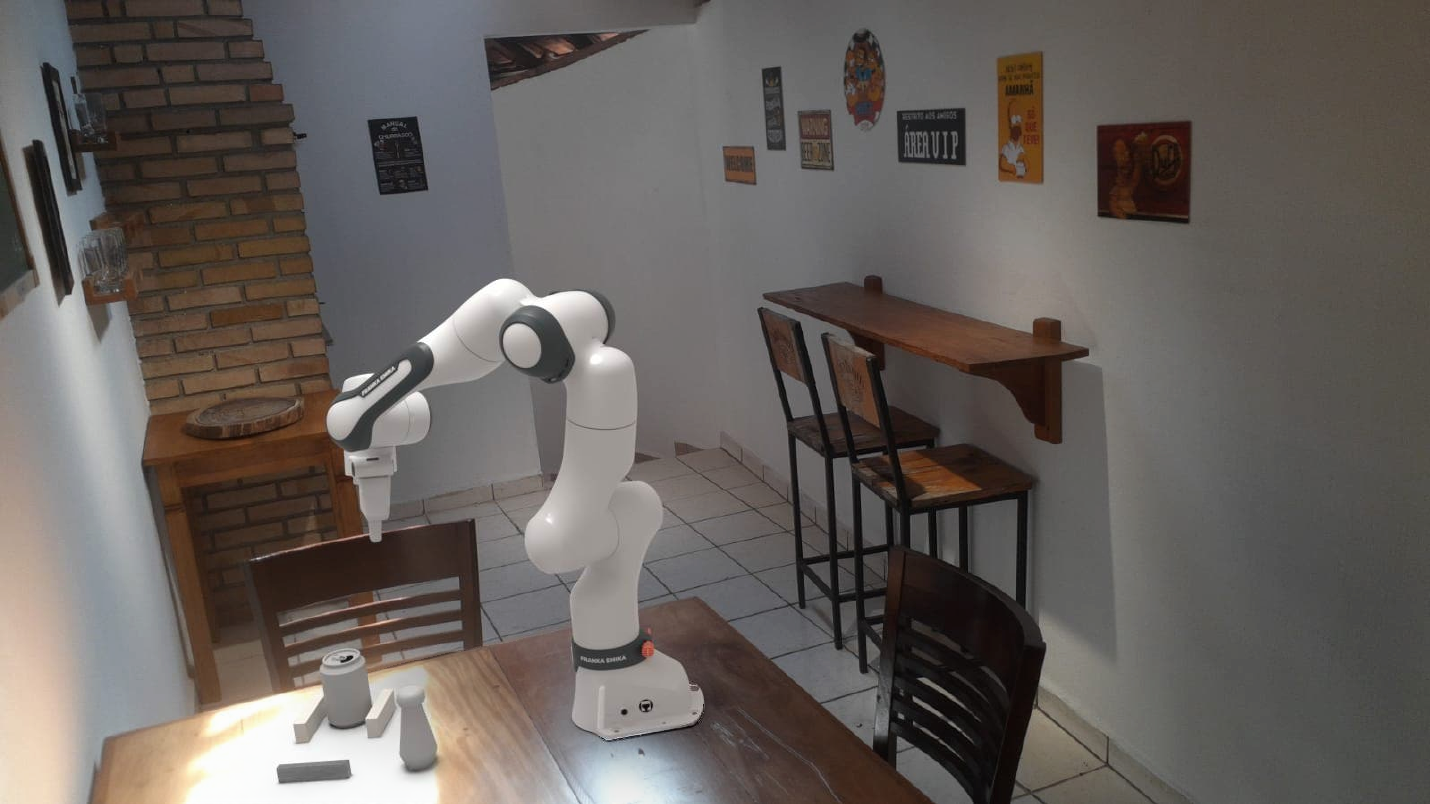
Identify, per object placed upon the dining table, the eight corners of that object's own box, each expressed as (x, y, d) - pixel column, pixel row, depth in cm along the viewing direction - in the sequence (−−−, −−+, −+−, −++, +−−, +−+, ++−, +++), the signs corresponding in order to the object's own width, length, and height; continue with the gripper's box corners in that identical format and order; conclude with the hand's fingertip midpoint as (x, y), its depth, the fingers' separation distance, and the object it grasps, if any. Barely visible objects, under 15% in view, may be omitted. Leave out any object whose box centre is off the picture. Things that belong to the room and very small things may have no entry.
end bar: (351, 773, 170) (349, 759, 170) (349, 778, 169) (346, 763, 168) (281, 778, 170) (279, 764, 169) (278, 782, 169) (276, 768, 168)
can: (359, 731, 183) (349, 666, 180) (319, 729, 184) (309, 665, 182) (381, 708, 190) (372, 646, 187) (342, 706, 192) (332, 644, 189)
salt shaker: (446, 759, 172) (436, 685, 169) (419, 777, 168) (408, 701, 165) (421, 750, 176) (410, 677, 173) (393, 768, 171) (382, 693, 168)
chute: (396, 707, 190) (393, 689, 189) (379, 737, 180) (377, 718, 180) (316, 712, 190) (313, 694, 189) (296, 743, 180) (293, 724, 180)
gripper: (349, 462, 201) (354, 535, 202) (355, 468, 182) (360, 550, 183) (384, 459, 204) (389, 532, 204) (394, 465, 185) (399, 546, 185)
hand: (375, 540), depth 193 cm, fingers closed
